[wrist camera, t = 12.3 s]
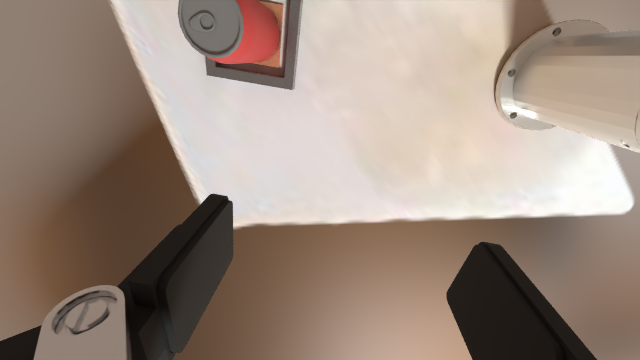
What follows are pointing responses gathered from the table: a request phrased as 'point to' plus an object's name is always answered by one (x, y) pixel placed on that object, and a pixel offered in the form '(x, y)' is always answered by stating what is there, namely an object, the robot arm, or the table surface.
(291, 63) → the gray rectangular frame
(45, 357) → the robot arm
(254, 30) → the beer can
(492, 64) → the table surface
